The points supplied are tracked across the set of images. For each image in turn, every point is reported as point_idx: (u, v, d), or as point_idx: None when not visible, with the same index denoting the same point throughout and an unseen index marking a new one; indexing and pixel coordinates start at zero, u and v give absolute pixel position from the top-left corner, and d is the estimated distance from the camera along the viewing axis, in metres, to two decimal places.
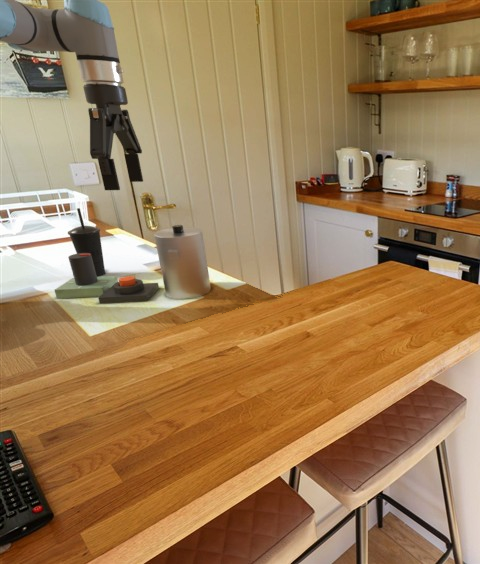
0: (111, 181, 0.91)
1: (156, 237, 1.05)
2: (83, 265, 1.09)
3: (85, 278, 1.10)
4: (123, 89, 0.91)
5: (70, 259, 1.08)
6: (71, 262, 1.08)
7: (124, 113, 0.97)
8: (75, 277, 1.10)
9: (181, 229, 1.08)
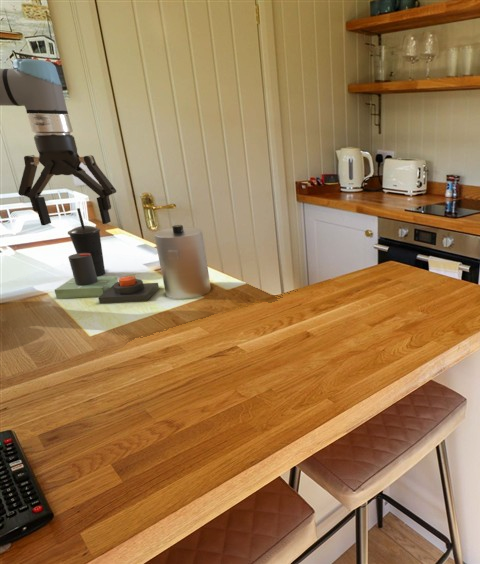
0: None
1: (156, 237, 1.05)
2: (83, 265, 1.09)
3: (85, 278, 1.10)
4: (43, 138, 0.96)
5: (70, 259, 1.08)
6: (71, 262, 1.08)
7: None
8: (75, 277, 1.10)
9: (181, 229, 1.08)
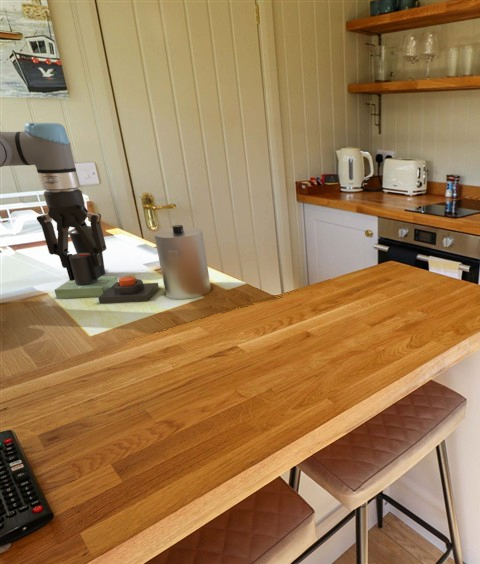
0: None
1: (156, 237, 1.05)
2: (83, 265, 1.09)
3: (85, 278, 1.10)
4: (53, 195, 1.01)
5: (70, 259, 1.08)
6: (71, 262, 1.08)
7: None
8: (75, 277, 1.10)
9: (181, 229, 1.08)
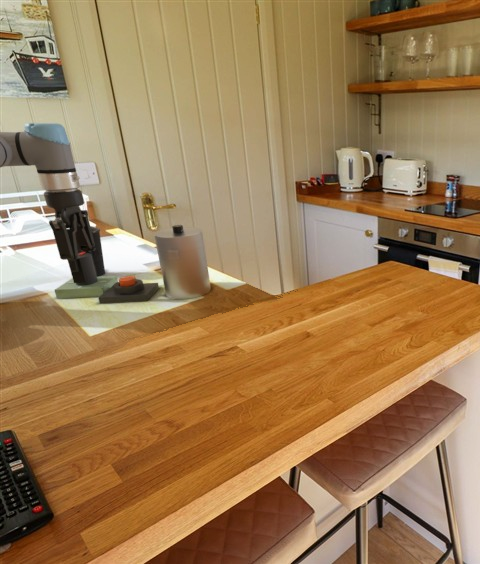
0: (79, 276, 1.09)
1: (156, 237, 1.05)
2: (92, 261, 1.12)
3: (95, 273, 1.13)
4: (79, 193, 1.05)
5: (86, 258, 1.09)
6: (87, 261, 1.10)
7: (83, 212, 1.11)
8: (90, 276, 1.11)
9: (181, 229, 1.08)
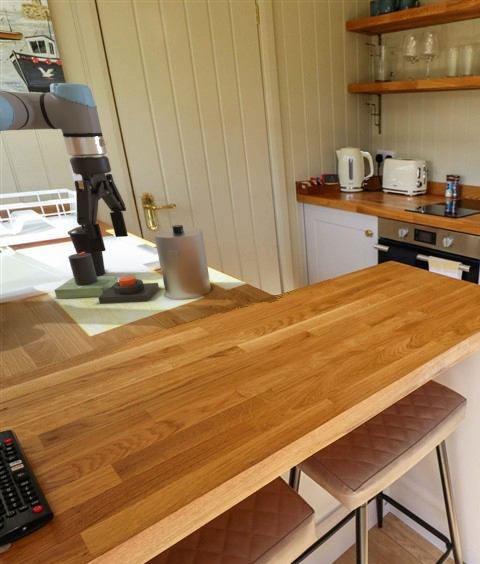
0: (97, 243, 1.00)
1: (156, 237, 1.05)
2: (92, 261, 1.12)
3: (95, 273, 1.13)
4: (106, 159, 1.00)
5: (86, 258, 1.09)
6: (87, 261, 1.10)
7: (108, 177, 1.06)
8: (90, 276, 1.11)
9: (181, 229, 1.08)
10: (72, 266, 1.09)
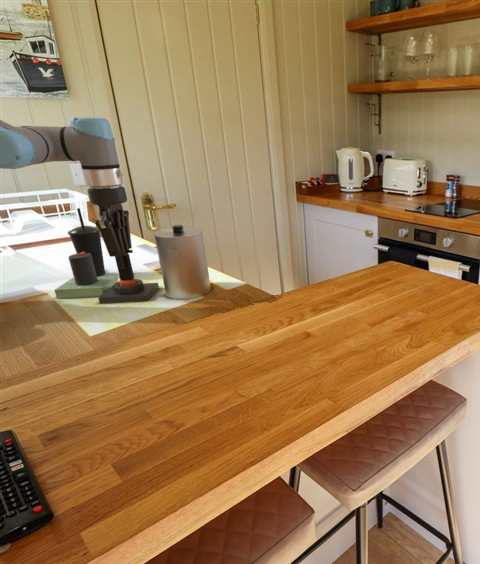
0: (126, 273, 1.08)
1: (156, 237, 1.05)
2: (92, 261, 1.12)
3: (95, 273, 1.13)
4: (123, 190, 1.02)
5: (86, 258, 1.09)
6: (87, 261, 1.10)
7: (124, 212, 1.08)
8: (90, 276, 1.11)
9: (181, 229, 1.08)
10: (72, 266, 1.09)
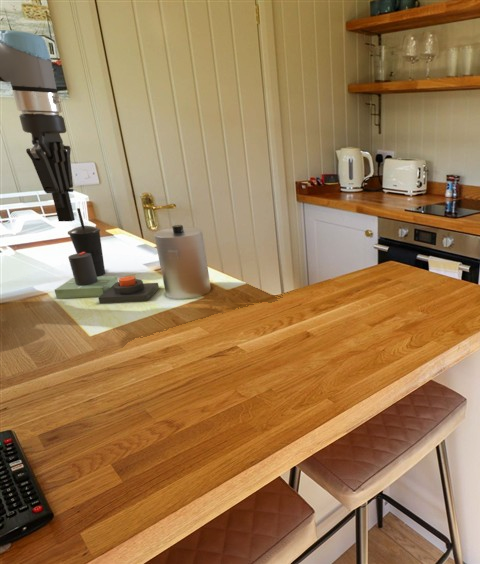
0: (64, 213, 0.99)
1: (156, 237, 1.05)
2: (92, 261, 1.12)
3: (95, 273, 1.13)
4: (60, 118, 0.93)
5: (86, 258, 1.09)
6: (87, 261, 1.10)
7: (65, 147, 0.99)
8: (90, 276, 1.11)
9: (181, 229, 1.08)
10: (72, 266, 1.09)
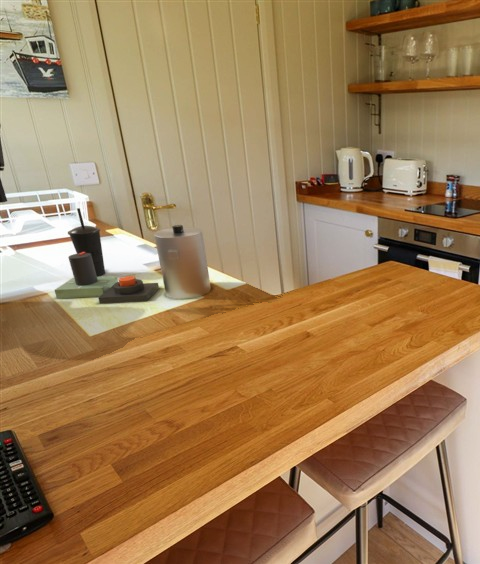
0: None
1: (156, 237, 1.05)
2: (92, 261, 1.12)
3: (95, 273, 1.13)
4: None
5: (86, 258, 1.09)
6: (87, 261, 1.10)
7: None
8: (90, 276, 1.11)
9: (181, 229, 1.08)
10: (72, 266, 1.09)
